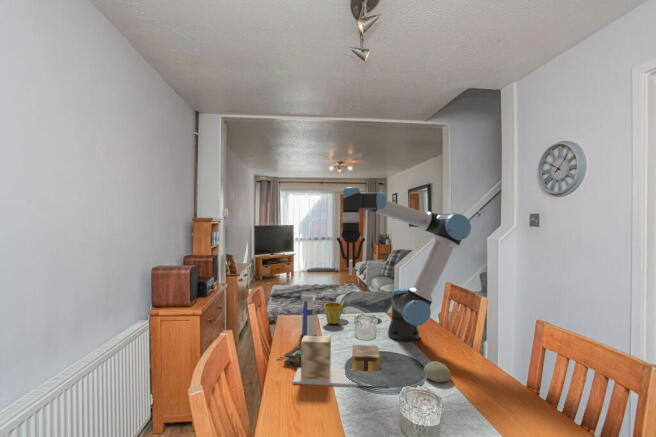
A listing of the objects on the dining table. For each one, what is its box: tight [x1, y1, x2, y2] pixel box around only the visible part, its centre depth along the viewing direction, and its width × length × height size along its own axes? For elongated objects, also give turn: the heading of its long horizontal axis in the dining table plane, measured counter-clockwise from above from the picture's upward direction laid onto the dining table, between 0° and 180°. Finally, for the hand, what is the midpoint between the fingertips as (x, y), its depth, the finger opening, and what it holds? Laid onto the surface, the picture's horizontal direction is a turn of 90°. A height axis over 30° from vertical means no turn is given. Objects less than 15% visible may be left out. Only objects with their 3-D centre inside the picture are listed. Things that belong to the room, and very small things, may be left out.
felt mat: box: [292, 367, 359, 387], centre depth 119 cm, size 33×11×1 cm, turn 85°
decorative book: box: [275, 346, 301, 370], centre depth 133 cm, size 13×18×5 cm
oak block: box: [300, 335, 332, 379], centre depth 120 cm, size 10×6×13 cm, turn 85°
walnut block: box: [351, 344, 381, 371], centre depth 128 cm, size 10×6×13 cm
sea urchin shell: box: [423, 360, 452, 383], centre depth 119 cm, size 9×8×8 cm
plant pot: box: [323, 301, 344, 325], centre depth 185 cm, size 10×10×10 cm
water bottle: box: [300, 284, 318, 337], centre depth 166 cm, size 8×8×25 cm
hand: (350, 274), depth 149 cm, fingers closed
